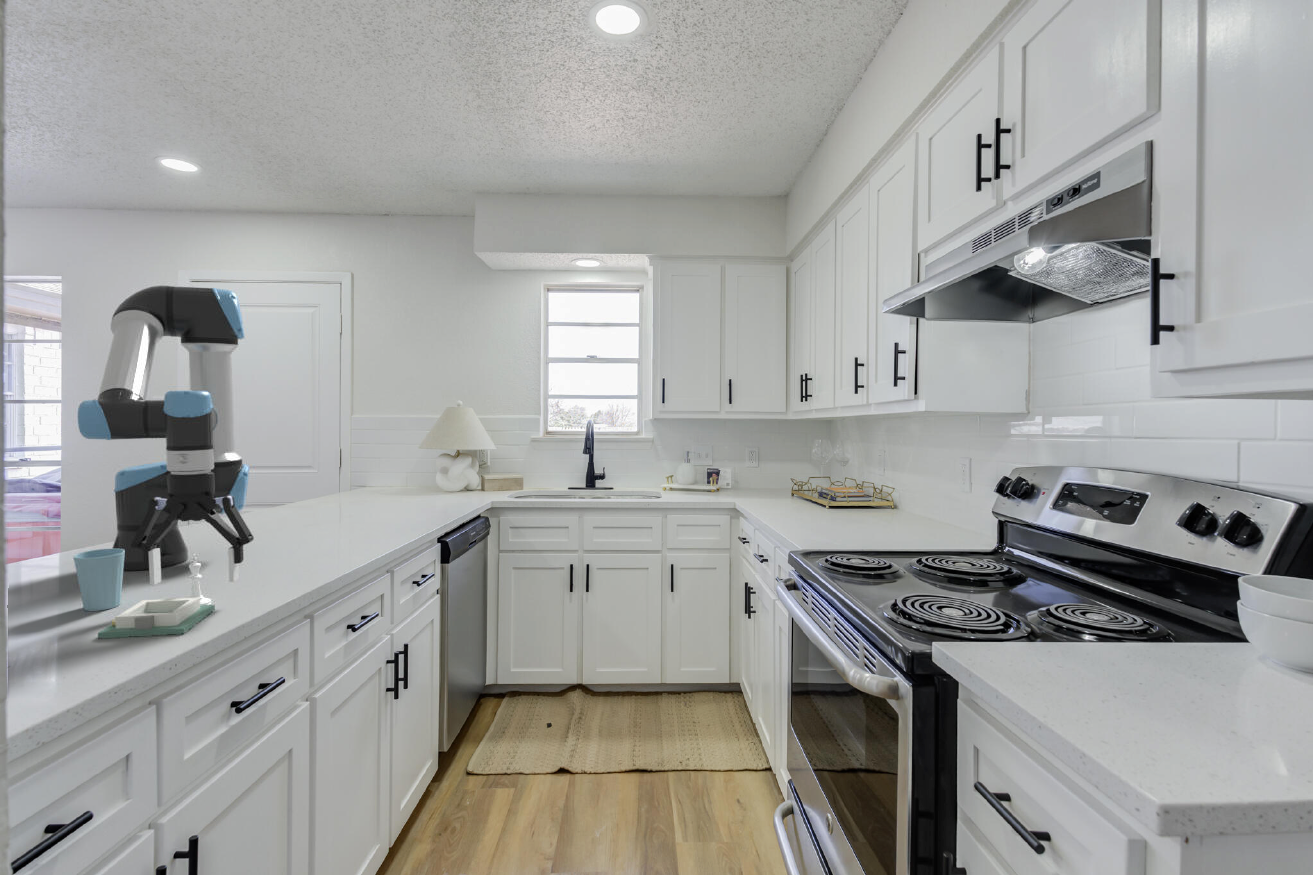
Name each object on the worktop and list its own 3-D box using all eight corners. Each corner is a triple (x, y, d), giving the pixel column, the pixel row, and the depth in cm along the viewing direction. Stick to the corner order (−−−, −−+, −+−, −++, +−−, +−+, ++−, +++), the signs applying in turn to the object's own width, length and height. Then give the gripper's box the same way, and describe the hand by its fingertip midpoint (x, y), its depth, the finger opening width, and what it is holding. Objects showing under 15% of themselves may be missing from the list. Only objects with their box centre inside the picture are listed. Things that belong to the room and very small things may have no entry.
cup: (121, 610, 134) (118, 555, 133) (70, 615, 131) (67, 559, 130) (132, 598, 141) (129, 546, 140) (84, 603, 138) (81, 550, 137)
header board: (137, 613, 132) (136, 597, 132) (214, 609, 135) (214, 594, 135) (98, 638, 120) (97, 621, 119) (184, 634, 122) (183, 617, 122)
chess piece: (189, 611, 134) (186, 559, 133) (176, 606, 137) (174, 555, 136) (216, 604, 138) (214, 553, 137) (203, 599, 141) (201, 550, 140)
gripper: (105, 475, 129) (111, 590, 131) (255, 472, 134) (259, 583, 136) (127, 470, 137) (132, 579, 138) (269, 468, 141) (272, 573, 143)
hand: (195, 581), depth 137 cm, fingers open, 13 cm apart
